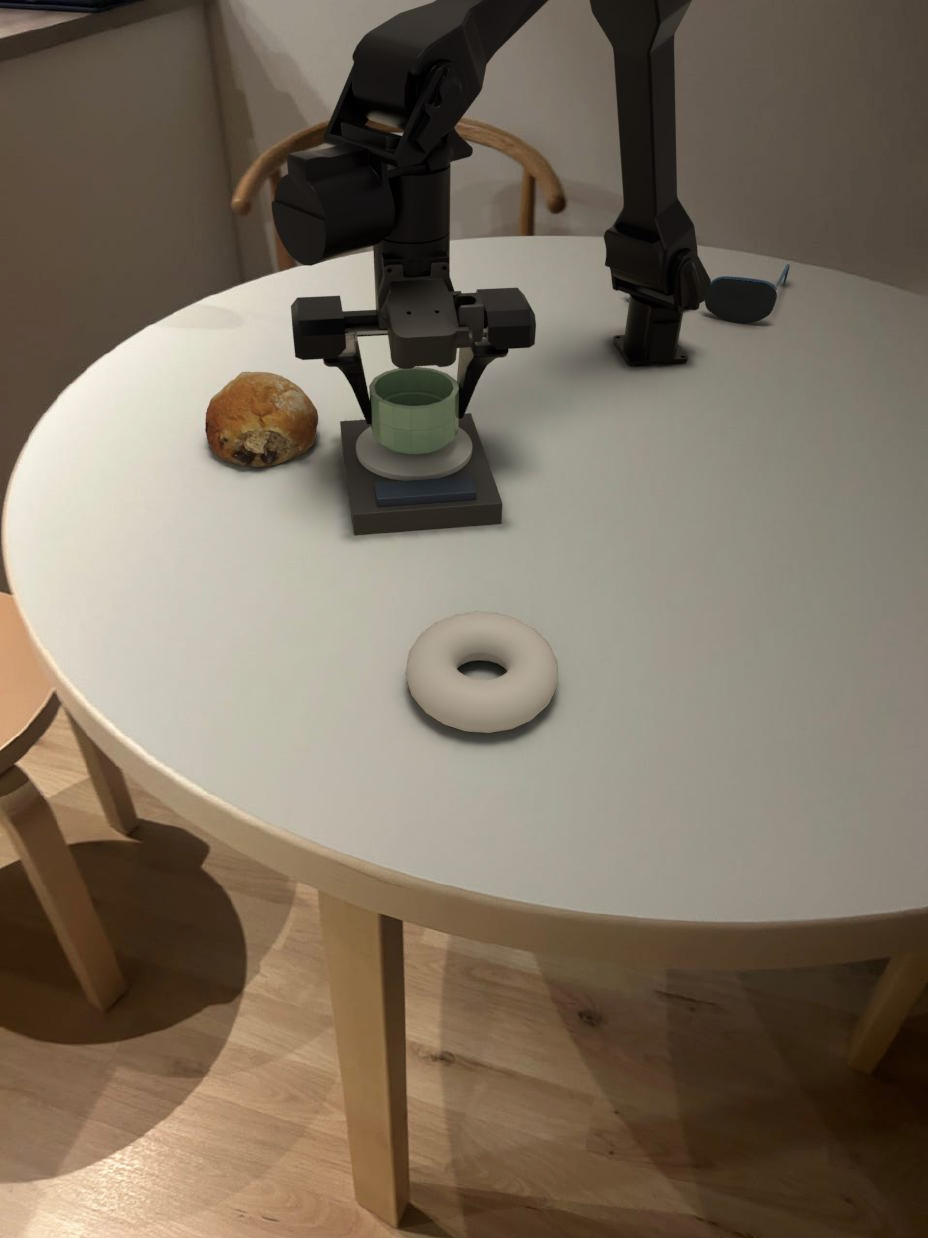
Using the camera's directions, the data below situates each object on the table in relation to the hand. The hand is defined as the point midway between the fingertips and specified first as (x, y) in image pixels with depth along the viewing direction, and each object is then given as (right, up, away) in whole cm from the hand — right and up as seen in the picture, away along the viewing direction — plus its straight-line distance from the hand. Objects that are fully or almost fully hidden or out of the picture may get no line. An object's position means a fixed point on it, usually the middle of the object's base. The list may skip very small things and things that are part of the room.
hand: (414, 419), depth 81 cm
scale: (0, -5, +2) cm, 5 cm away
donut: (+5, -22, -17) cm, 28 cm away
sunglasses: (+34, +23, +35) cm, 54 cm away
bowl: (0, -1, +1) cm, 2 cm away
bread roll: (-14, -1, +6) cm, 15 cm away
